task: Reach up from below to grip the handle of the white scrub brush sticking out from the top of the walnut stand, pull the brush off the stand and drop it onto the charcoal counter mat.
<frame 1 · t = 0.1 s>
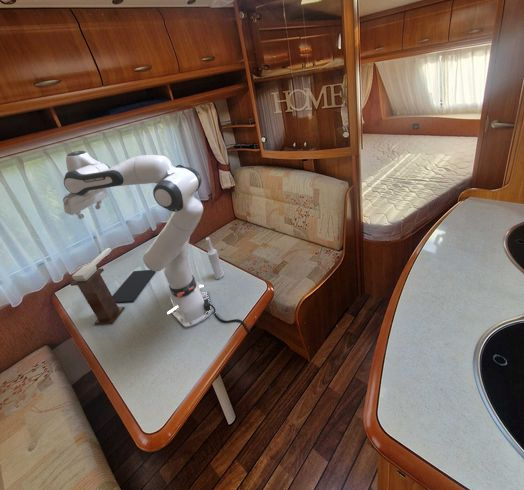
hand: (90, 213, 126), 52 cm above the table, tool tilted 20°, fingers open, 8 cm apart
counter mat: (133, 285, 157), on the table
brush: (86, 275, 126), point 26 cm above the table, touching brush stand
bottle: (219, 276, 149), on the table
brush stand: (109, 316, 137), on the table
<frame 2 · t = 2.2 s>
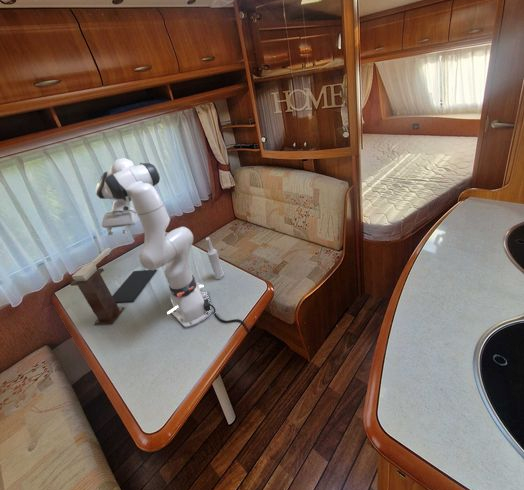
hand: (117, 234, 149), 32 cm above the table, tool tilted 45°, fingers open, 8 cm apart
nothing on the table moved.
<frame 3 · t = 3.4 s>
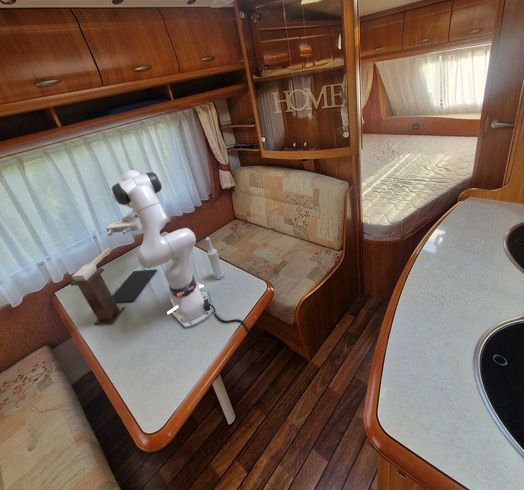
hand: (116, 233, 148), 32 cm above the table, tool horizontal, fingers open, 8 cm apart
nothing on the table moved.
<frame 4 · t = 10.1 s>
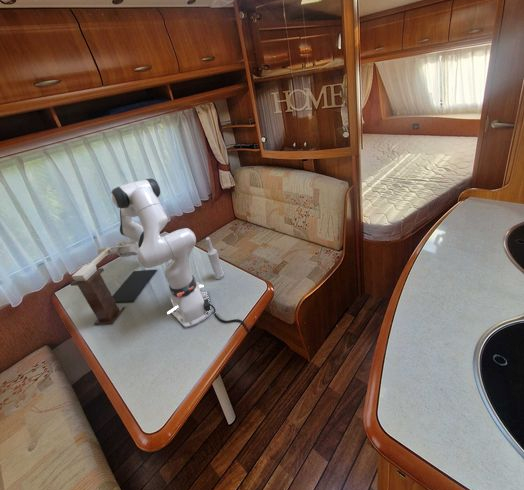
hand: (106, 251, 139), 29 cm above the table, tool pointing upward, fingers closed on brush, 2 cm apart
brush: (86, 275, 126), point 26 cm above the table, touching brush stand, gripper
everything else where it was.
when the fingers open (20 cm above the table, at t = 17.4 s): brush drops 16 cm, resting on counter mat.
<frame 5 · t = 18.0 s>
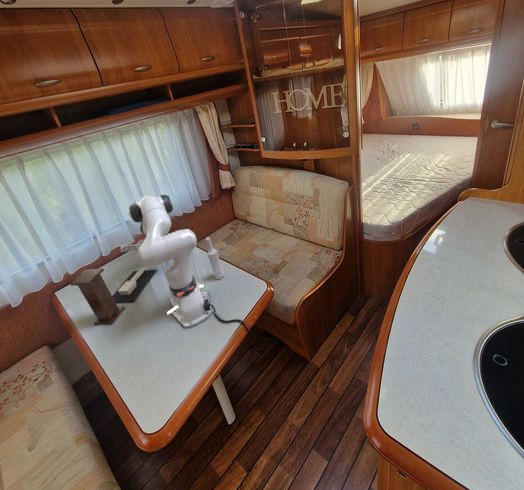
hand: (129, 248, 156), 20 cm above the table, tool pointing upward, fingers open, 8 cm apart
brush: (129, 290, 152), point 1 cm above the table, touching counter mat
everything else where it was.
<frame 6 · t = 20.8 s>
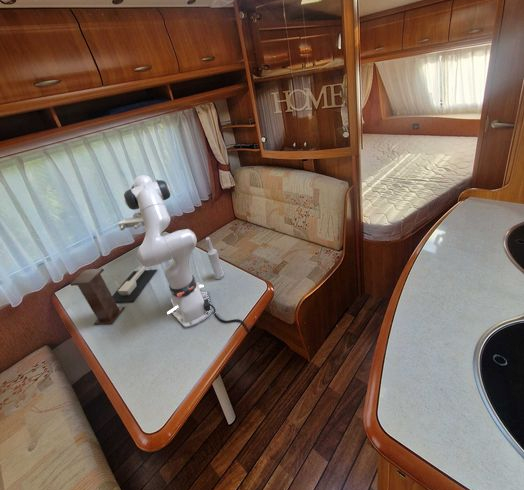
hand: (128, 228, 157), 30 cm above the table, tool horizontal, fingers open, 8 cm apart
nothing on the table moved.
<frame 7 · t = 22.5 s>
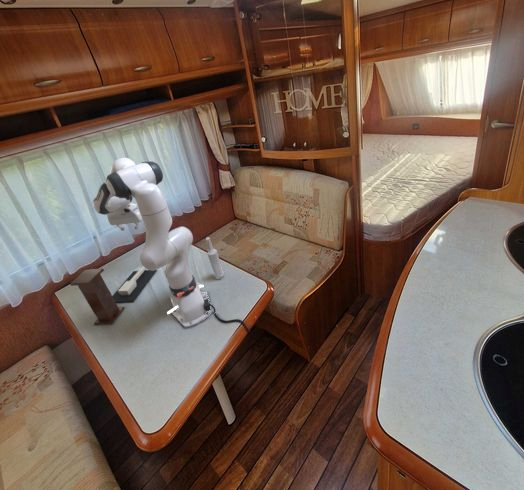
hand: (130, 229, 159), 29 cm above the table, tool pointing down, fingers open, 8 cm apart
nothing on the table moved.
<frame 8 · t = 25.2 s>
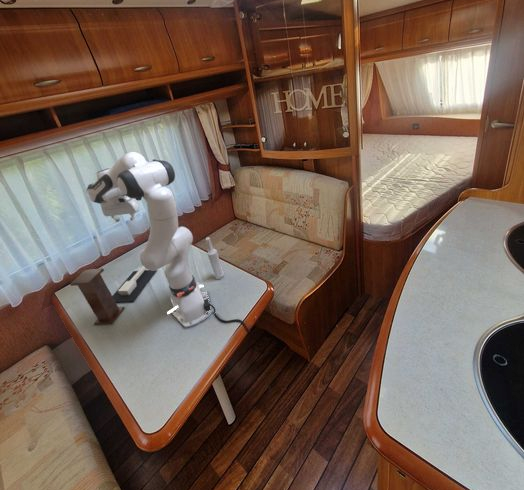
hand: (125, 220, 150), 37 cm above the table, tool pointing down, fingers open, 8 cm apart
nothing on the table moved.
at the end: brush inside the target area on the counter mat (3.0 cm from its centre), point 0.8 cm above the counter mat's base; brush touching counter mat; the gripper is holding nothing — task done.
